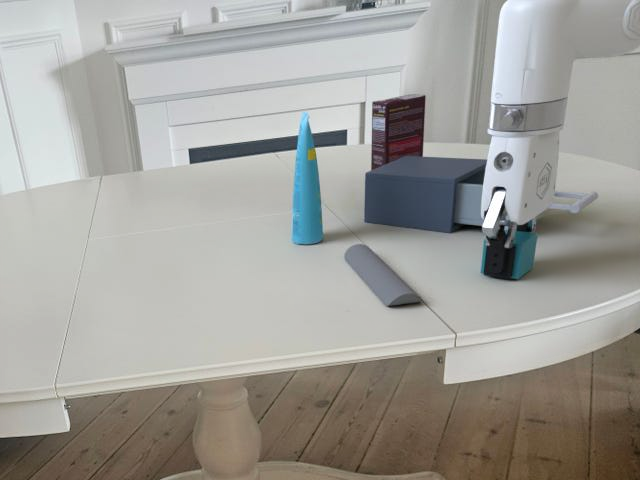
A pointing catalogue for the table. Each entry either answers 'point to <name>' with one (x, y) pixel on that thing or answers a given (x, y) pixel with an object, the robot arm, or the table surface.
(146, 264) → the table surface
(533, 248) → the teal box
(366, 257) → the gray half cylinder
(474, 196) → the drawer
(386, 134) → the supplement box
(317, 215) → the tube
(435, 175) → the drawer cabinet
